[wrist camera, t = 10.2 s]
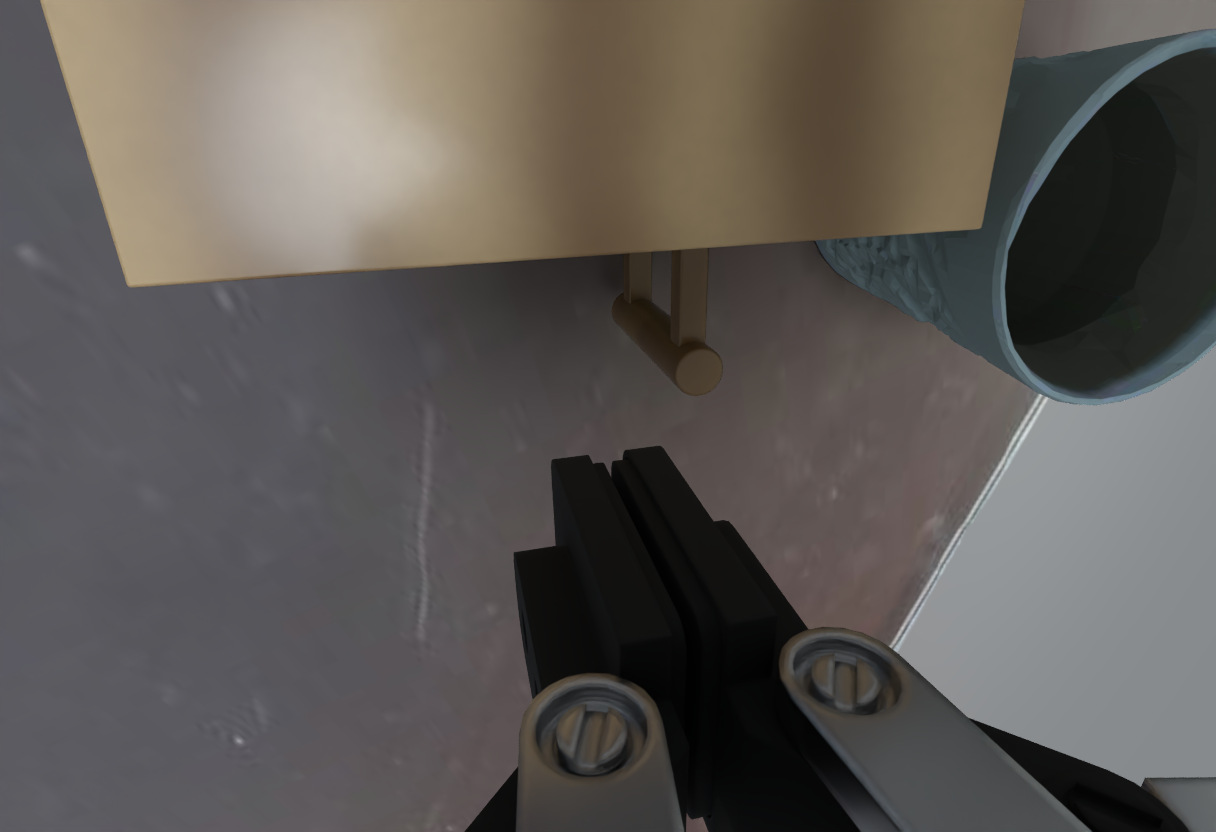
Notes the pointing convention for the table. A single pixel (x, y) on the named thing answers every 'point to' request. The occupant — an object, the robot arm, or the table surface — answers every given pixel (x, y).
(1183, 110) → the blue-grey pot
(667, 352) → the cabinet door
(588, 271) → the table surface
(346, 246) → the curio cabinet
